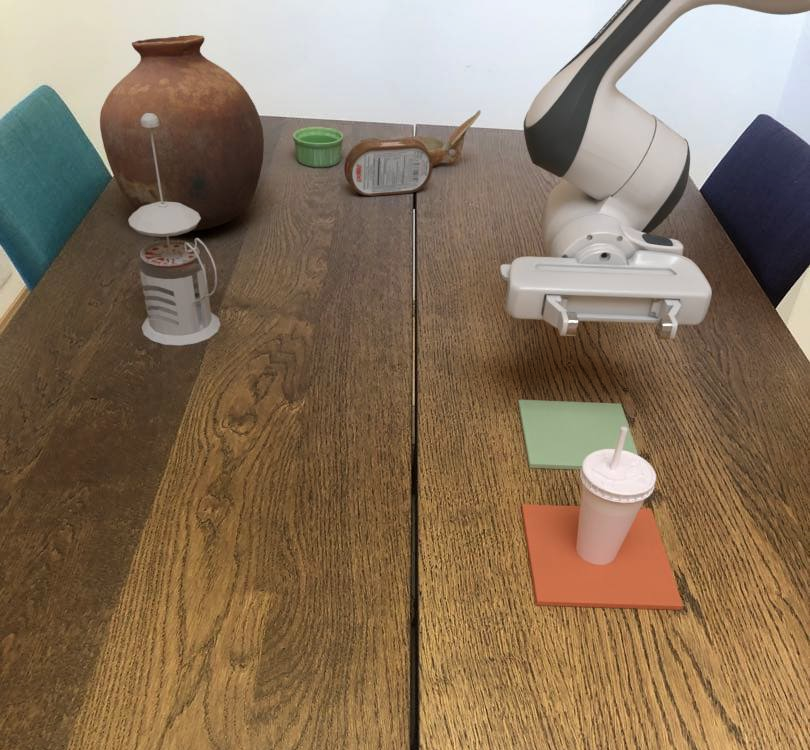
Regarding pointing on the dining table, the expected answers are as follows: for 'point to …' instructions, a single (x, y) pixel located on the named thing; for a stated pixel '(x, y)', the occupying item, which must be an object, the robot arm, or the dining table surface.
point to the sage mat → (570, 431)
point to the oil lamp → (441, 149)
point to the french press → (172, 298)
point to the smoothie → (610, 500)
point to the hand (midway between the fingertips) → (619, 331)
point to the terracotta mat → (597, 584)
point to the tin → (388, 167)
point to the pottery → (183, 132)
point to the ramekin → (318, 146)
